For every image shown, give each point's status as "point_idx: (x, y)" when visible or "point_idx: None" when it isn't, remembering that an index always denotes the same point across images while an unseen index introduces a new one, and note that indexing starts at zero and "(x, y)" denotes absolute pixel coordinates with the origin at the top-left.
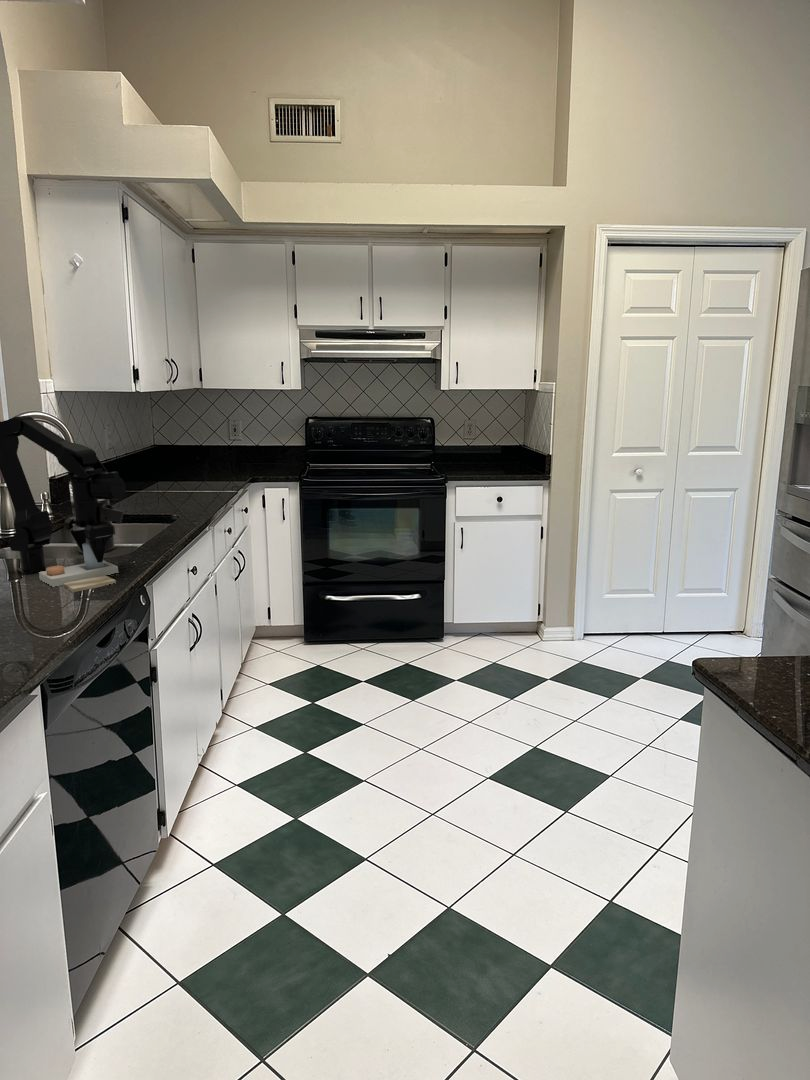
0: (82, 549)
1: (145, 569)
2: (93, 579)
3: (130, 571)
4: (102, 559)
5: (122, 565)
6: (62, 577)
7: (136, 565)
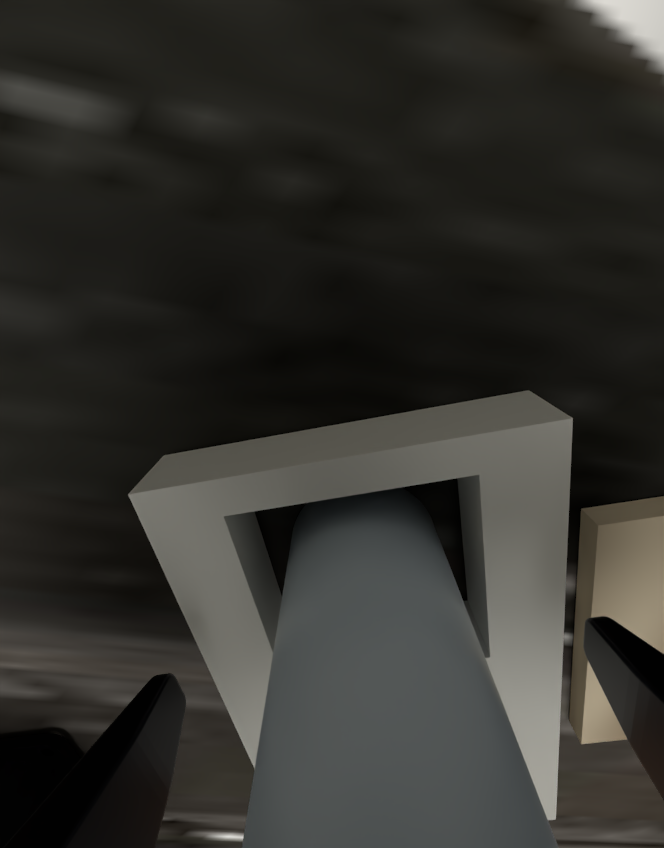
0: (151, 829)
1: (573, 56)
2: (661, 608)
3: (518, 261)
4: (639, 641)
5: (172, 282)
6: (555, 778)
7: (268, 122)
